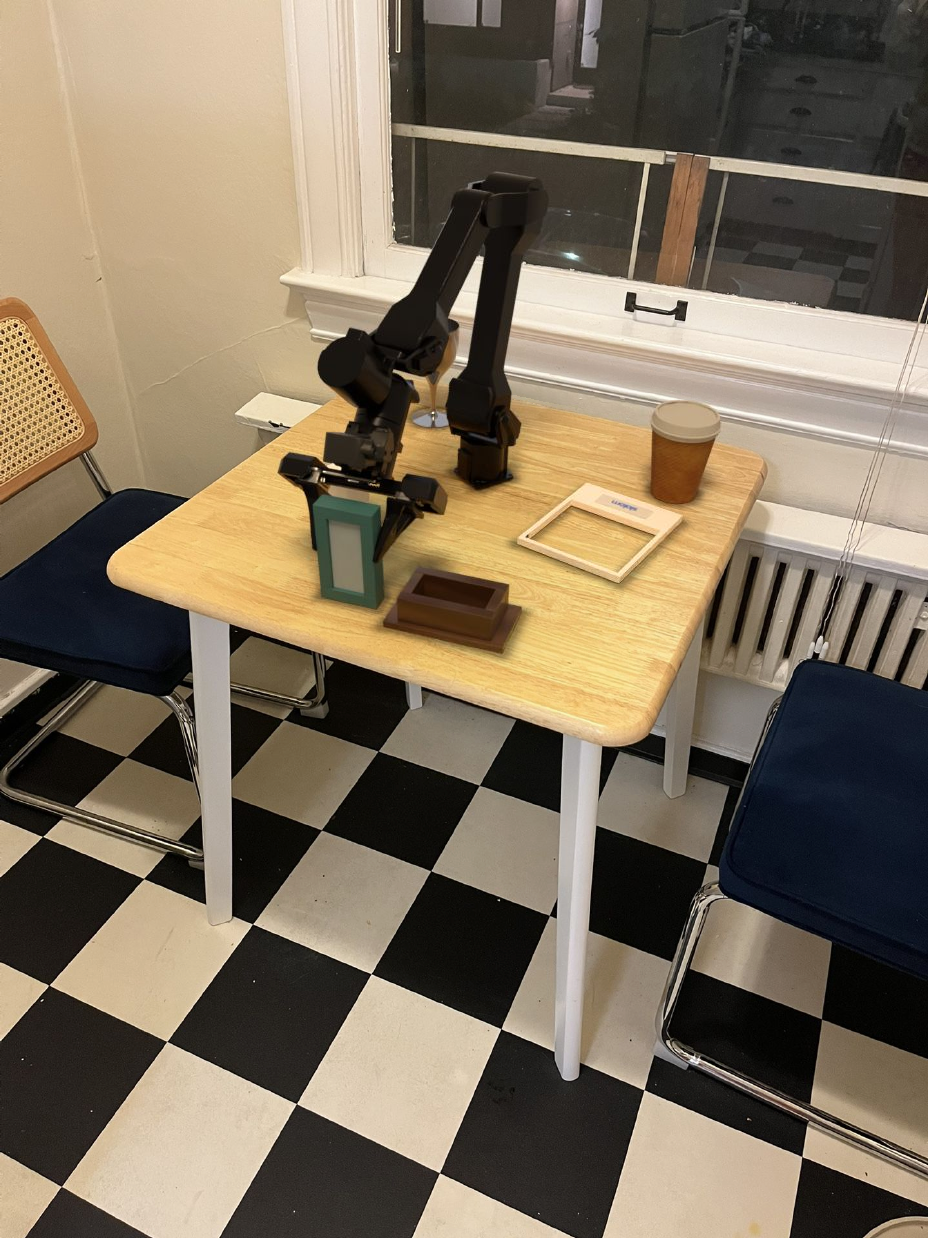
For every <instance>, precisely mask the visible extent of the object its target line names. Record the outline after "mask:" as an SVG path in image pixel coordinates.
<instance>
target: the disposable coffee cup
mask: <svg viewBox="0 0 928 1238" xmlns="http://www.w3.org/2000/svg"><path fill="white" fill-rule="evenodd" d="M649 423H650V427H651V453H650V456H651V457H650V490H649V491H650V493H651V495H652V496H653V497H654V498H655V499H657V500H659V501H661V502H665V503H669V504H685V503H686V504H687V503H689V502H692V501H693V500H694V499H695V498H696V495H697V493H698V490H699V487H700V484H701V481H702V479H703V475H704V473H705V470H706V467H707V464H708V462H709V459H710V456H711V453H712V450H713V447H714V444H715V441H716V438H717V437H718V435H719V434H720V433H721V431H722V429H723V424H722V422H721V415H720V413H719V412H718V410H717V409H716V408H714V407H712V406H710V405H708V404H706V403H702V402H699V401H695V400H687V399H674V400H666V401H664V402H661V403H659V404H658V405H656V407H655V408H654V411H653V412H652V413H651V415H650V416H649Z"/></svg>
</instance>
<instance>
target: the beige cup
mask: <svg viewBox="0 0 928 1238" xmlns="http://www.w3.org/2000/svg"><path fill="white" fill-rule="evenodd" d="M324 464H325V465H326V466H327V467H328V468H331V469H337V470H341V467H339V466H336V465H335V464H334V463H326V462H324ZM348 481H353V480H348ZM353 482H357V481H355V480H354V481H353ZM358 482H359V481H358ZM358 482H357V483H358ZM369 485H371V484H369ZM328 493H329V494H330V495H332V496H334V497H340V498H345V499H350V500H355V501H360V502H366V503H370V493H369V492H364V491H358V490H353V489H348V488H343V487H337V486H332V485H330V488H329V490H328Z"/></svg>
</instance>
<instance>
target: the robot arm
mask: <svg viewBox="0 0 928 1238" xmlns="http://www.w3.org/2000/svg"><path fill="white" fill-rule="evenodd" d="M549 204H550V196H549V192H548V190H546V189H545V186H544V183H543V182H542V179H540V178H539V177H533V176H526V175H521V174H515V173H514V174H513V173H509V172H500V171H492V172H491V173H489V174H488V175H487V177H486V178H485V179H482V180H477V181H473V182H469V183H467V187H464V188H460V189H458V190H457V191H455V193H454V194H453V196H452V199H451V202H450V212H449V214H448V216H447V219H445V222H444V224H443V227H442V228H441V230H440V232H439V234H438V236H437V238H436V240H435V243H434V244H433V246H432V249H431V250H430V253H429V255H428V256H427V259H426V260H425V263H424V265H423V267H422V268H421V271H420V273H419V275H418V277H417V279H416V281H415V283H414V284H413V287H412V288H411V290H410V291H409V293H408V294H407V295H405V296H404V297H403V298H401V299H400V300H397V302H395V303H393V304H392V305H391V306H390V307H389V310H388V311H387V312H386V314H385V316H383V318H382V320H381V321H380V323H379V324H378V326H377V327H376V328H375V329H373V330H372V331H370V333H367V331H366V330H363V329H360V328H356V327H351V326H350V327H349V328H348V329H347V332H346V334H345V336H341V337H338V338H336V339H334V340H332V341H331V342H330V343H329V344H328V345H327V346H326V347H325V349H322V350H321V352H320V354H319V356H318V360H317V365H316V367H317V368H316V369H317V374H318V377H319V379H320V380H321V381H322V383H324V384H325V385H326V386H327V387H328V388H330V389H331V390H332V391H334V393H335V394H337V395H338V396H339V397H341V399H343V400H344V401H345V402H347V403H348V404H350V406H352V407H354V408H356V411H355V414H354V419H353V421H352V420H348V423H347V424H346V427H345V431H344V432H342V431H326V432H325V438H324V445H323V455H322V460H320V459H319V458H318V457H317V456H315V455H310V454H309V455H308V454H303V453H297V452H291V451H289V452H287V454H285V455H284V456H283V457H282V458H281V459H280V462H279V466H278V469H277V473H276V474H278V475H279V476H280V477H282V478H283V479H284V480H286V481H287V482H288V483H290V484H291V485H292V486H293V487H295V488H297V489H300V490H301V491H302V492H303V494H304V496H305V500H306V504H307V509H308V516H309V524H310V525H309V528H310V540H311V541H310V542H311V549H312V550H313V551H314V552H317V543H316V534H315V523H314V514H313V504H314V503H315V502H316V501H317V500H318V499H319V497H320V496H321V495H322V494H324V495H329V496H332V495H330V494H329V493H328V490H329V488H330V485H332V486H337V487H343V488H348V489H353V490H358V491H364V492H369V494H375V495H380V496H385V497H386V503H385V513H384V514H385V515H384V518H383V520H382V521H383V522H382V523H381V530H380V533H379V536H378V539H377V542H376V545H375V550H374V554H373V559H372V562H373V563H375V564H378V563H379V562H380V560H381V559H382V558H383V559H384V557H385V555H387V553H388V551H390V548H391V547H393V544H394V543H395V542H396V541H397V540H398V538H399V537H400V536H401V535H402V534H403V533H404V532H405V531H406V530H407V529H408V528H409V527H410V526H411V525H412V524H413V522H415V520H417V519H419V520H424V519H425V513H427V514H431V515H437V516H445V513H446V509H447V506H448V501H449V500H448V499H449V498H448V496H449V495H448V493H447V491H446V490H445V489H444V487H443V486H442V485H441V484H440V483H439V481H438V480H437V478H435V477H429V476H424V475H418V474H413V473H405V474H404V475H403V477H402V478H401V480H397V479H395V477H394V476H393V473H394V469H395V465H396V462H397V459H398V458H397V457H398V454H402V452H403V449H404V444H403V443H402V438H403V435H404V431H405V427H406V423H407V419H408V417H409V412H410V408H411V404H420V402H421V398H420V397H421V396H420V395H419V391H418V390H417V389H416V387H415V386H416V385H415V381H414V380H413V379H409V378H408V379H407V378H405V377H404V376H402V375H401V374H399V373H397V372H394V371H398V372H400V373H404V374H409V375H413V376H416V377H420V378H425V376H428V375H429V374H430V375H432V374H433V373H434V372H435V371H436V370H437V368H438V367H439V366H440V364H441V362H442V360H443V357H444V352H445V349H446V346H447V344H448V341H449V338H450V335H449V326H448V318H450V314H451V311H452V309H453V306H454V305H455V303H456V301H457V300H458V296H459V295H460V293H461V291H462V288H463V286H464V284H465V282H466V280H467V278H468V276H469V274H470V272H471V270H472V269H473V266H474V264H475V262H476V260H477V258H478V255H479V254H480V252H481V249H482V247H483V248H484V253H483V260H482V265H481V271H480V279H479V286H478V291H477V298H476V305H475V310H474V317H473V324H472V330H471V331H472V332H471V337H470V343H469V344H470V345H469V351H468V356H467V361H466V362H467V363H466V366H465V367H464V368H463V370H462V371H461V372H460V373H459V374H458V376H457V377H452V378H451V379H450V381H449V383H448V393H447V398H446V402H445V405H444V408H445V410H446V417H447V420H448V424H449V425H448V427H449V431H450V435H452V436H458V437H459V448H458V449H457V460H456V461H457V465H456V467H454V468H453V473H454V474H455V475H456V476H457V477H459V478H460V479H462V480H463V481H464V482H466V483H467V484H468V485H470V486H471V487H473V488H474V489H475V490H483V489H485V488H489V487H491V486H492V487H493V486H495V485H498V484H501V483H505V482H507V481H511V480H513V479H514V476H515V475H514V474H513V473H512V472H510V471H509V470H508V465H509V447H515V446H516V444H517V440H518V439H519V437H520V435H521V430H522V428H521V427H522V422H521V421H520V419H519V418H518V417H517V415H516V414H515V413H514V412H513V411H512V408H511V406H512V405H511V404H512V396H513V395H512V389H511V386H510V384H509V381H508V377H507V376H506V372H505V364H506V359H507V354H508V348H509V347H508V346H509V341H510V335H511V331H512V330H511V329H512V323H513V318H514V317H513V316H514V312H515V305H516V301H517V294H518V288H519V282H520V277H521V271H522V265H523V259H524V255H525V254H526V253H527V251H528V250H529V249H530V248H531V246H532V245H533V244H534V242H535V241H536V240H537V239H538V237H539V236H540V234H541V231H542V227H543V223H544V219H545V217H546V216H547V213H548V210H549V206H550V205H549ZM325 463H334V464H335V465H336V466H339V467H341V470H337V469H331V468H328V467H327V466H326V465H325ZM348 480H353V481H354V480H355V481H357V482H358V481H359V482H358V483H357V482H353V481H348ZM369 484H370V485H369ZM378 485H379V486H378Z"/></svg>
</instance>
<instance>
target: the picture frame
mask: <svg viewBox="0 0 928 1238" xmlns="http://www.w3.org/2000/svg"><path fill="white" fill-rule="evenodd" d="M313 514H314V523H315V534H316V543H317V551H316V553H317V562H318V574H319V575H318V576H319V585H320V597H321V598H323V599H328V600H332V601H337V602H342V603H346V604H351V605H355V606H359V607H363V608H368V609H372V610H377V609H378V608H379V606H380V605H381V604H382V602H383V601H384V599H385V580H384V579H385V577H384V576H385V575H384V557H383V558H382V559H381V560H380V562H379V563H378V564H375V563H373V562H372V559H373V554H374V550H375V545H376V542H377V539H378V536H379V533H380V530H381V527H382V506H381V505H380V504H375V503H370V502H369V503H366V502H360V501H355V500H350V499H345V498H340V497H334V496H329V495H324V494H322V495H321V496H320V497H319V499H318V500H317V501H316V502H315V503H314V504H313Z"/></svg>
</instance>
